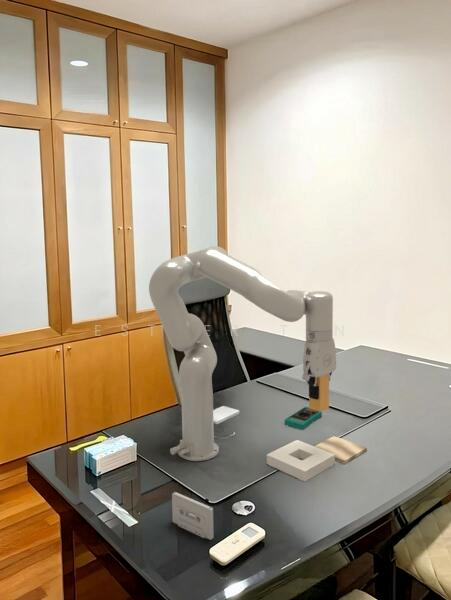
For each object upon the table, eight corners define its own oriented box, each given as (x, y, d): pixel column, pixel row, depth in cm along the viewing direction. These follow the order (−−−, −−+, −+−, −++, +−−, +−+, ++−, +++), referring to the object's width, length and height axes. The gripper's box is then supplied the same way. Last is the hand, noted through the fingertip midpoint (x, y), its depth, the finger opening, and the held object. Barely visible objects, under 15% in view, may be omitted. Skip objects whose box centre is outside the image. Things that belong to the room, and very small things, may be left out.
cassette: (171, 523, 127) (170, 493, 125) (176, 519, 128) (175, 490, 127) (210, 541, 119) (209, 510, 118) (215, 537, 121) (214, 507, 120)
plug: (320, 411, 152) (320, 374, 150) (309, 408, 155) (308, 372, 153) (328, 408, 154) (328, 371, 153) (317, 404, 157) (317, 369, 156)
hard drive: (222, 405, 198) (199, 415, 188) (239, 410, 192) (217, 421, 183) (222, 409, 198) (199, 419, 189) (239, 414, 193) (217, 425, 183)
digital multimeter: (322, 417, 189) (323, 409, 189) (302, 431, 178) (302, 423, 177) (304, 412, 194) (304, 405, 193) (283, 426, 182) (283, 418, 182)
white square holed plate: (305, 481, 145) (305, 471, 144) (266, 464, 155) (266, 454, 154) (334, 464, 154) (335, 454, 154) (296, 448, 164) (296, 439, 164)
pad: (344, 464, 154) (344, 460, 154) (311, 450, 163) (311, 447, 163) (366, 450, 162) (366, 447, 162) (333, 438, 171) (333, 435, 171)
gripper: (311, 342, 143) (311, 407, 146) (347, 331, 154) (346, 392, 157) (289, 338, 148) (290, 400, 151) (326, 327, 159) (325, 386, 162)
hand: (318, 395), depth 154 cm, fingers closed on plug, 4 cm apart
